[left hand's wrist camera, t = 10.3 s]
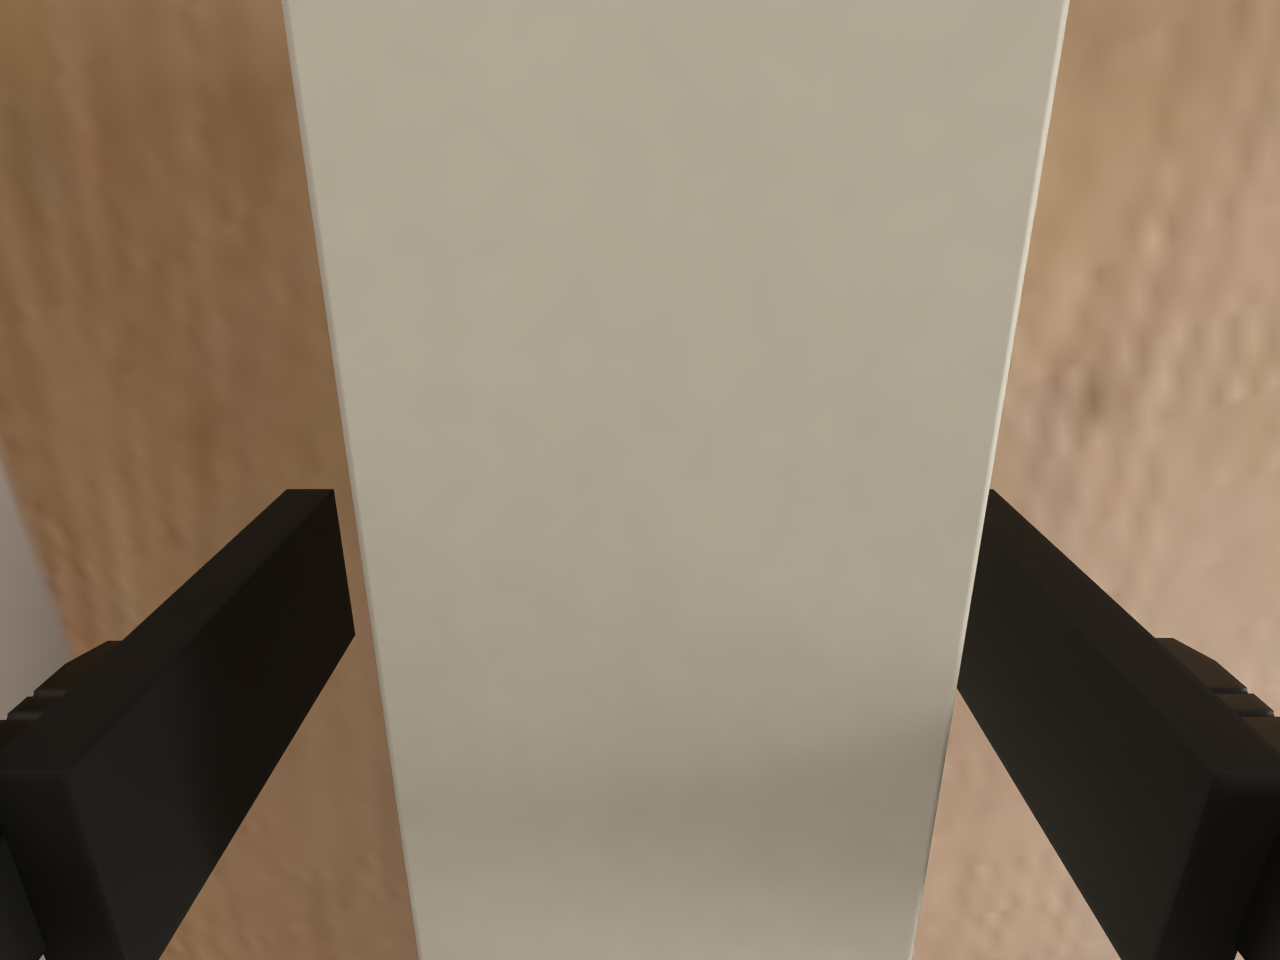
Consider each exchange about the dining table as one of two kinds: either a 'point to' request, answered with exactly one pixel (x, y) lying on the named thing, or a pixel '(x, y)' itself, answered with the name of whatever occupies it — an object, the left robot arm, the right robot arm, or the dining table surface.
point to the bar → (670, 443)
